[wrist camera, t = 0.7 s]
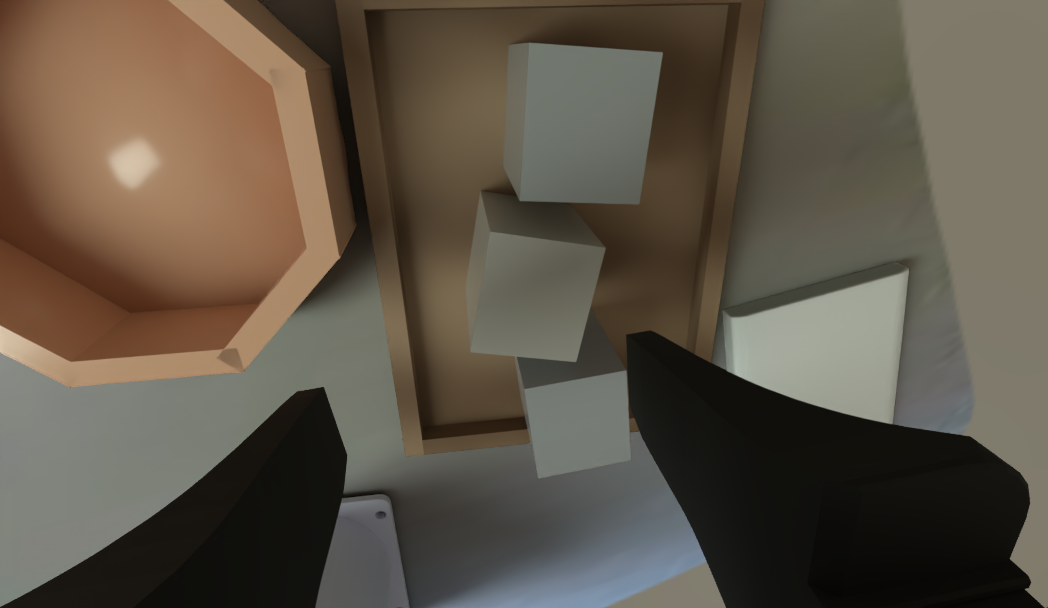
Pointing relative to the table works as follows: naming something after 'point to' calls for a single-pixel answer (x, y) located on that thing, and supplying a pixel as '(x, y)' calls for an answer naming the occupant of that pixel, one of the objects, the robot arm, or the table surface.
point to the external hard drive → (825, 342)
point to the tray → (477, 165)
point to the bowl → (161, 185)
